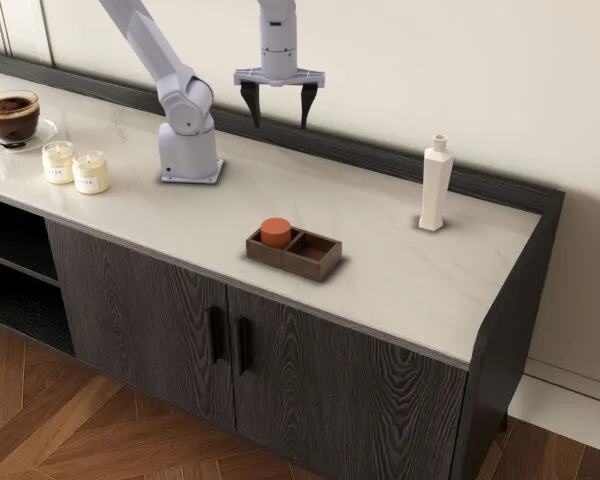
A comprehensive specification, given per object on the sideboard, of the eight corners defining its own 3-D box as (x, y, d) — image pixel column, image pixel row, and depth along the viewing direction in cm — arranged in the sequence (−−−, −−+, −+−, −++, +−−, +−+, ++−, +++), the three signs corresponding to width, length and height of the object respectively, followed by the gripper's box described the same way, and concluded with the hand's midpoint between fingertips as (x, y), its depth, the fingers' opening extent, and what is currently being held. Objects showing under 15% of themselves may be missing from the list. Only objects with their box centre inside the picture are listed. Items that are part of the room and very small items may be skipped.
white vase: (427, 212, 123) (436, 127, 114) (449, 223, 120) (460, 136, 111) (409, 223, 120) (417, 137, 111) (431, 234, 118) (441, 147, 109)
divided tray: (246, 257, 114) (245, 240, 112) (270, 235, 118) (269, 218, 116) (320, 282, 109) (320, 265, 107) (341, 258, 113) (342, 241, 111)
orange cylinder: (259, 255, 113) (258, 233, 110) (264, 238, 116) (262, 216, 114) (289, 257, 112) (288, 234, 110) (292, 240, 116) (292, 218, 113)
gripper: (228, 53, 116) (233, 135, 124) (323, 56, 114) (322, 138, 123) (235, 37, 121) (240, 116, 130) (326, 39, 120) (325, 119, 128)
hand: (280, 126), depth 127 cm, fingers open, 7 cm apart
